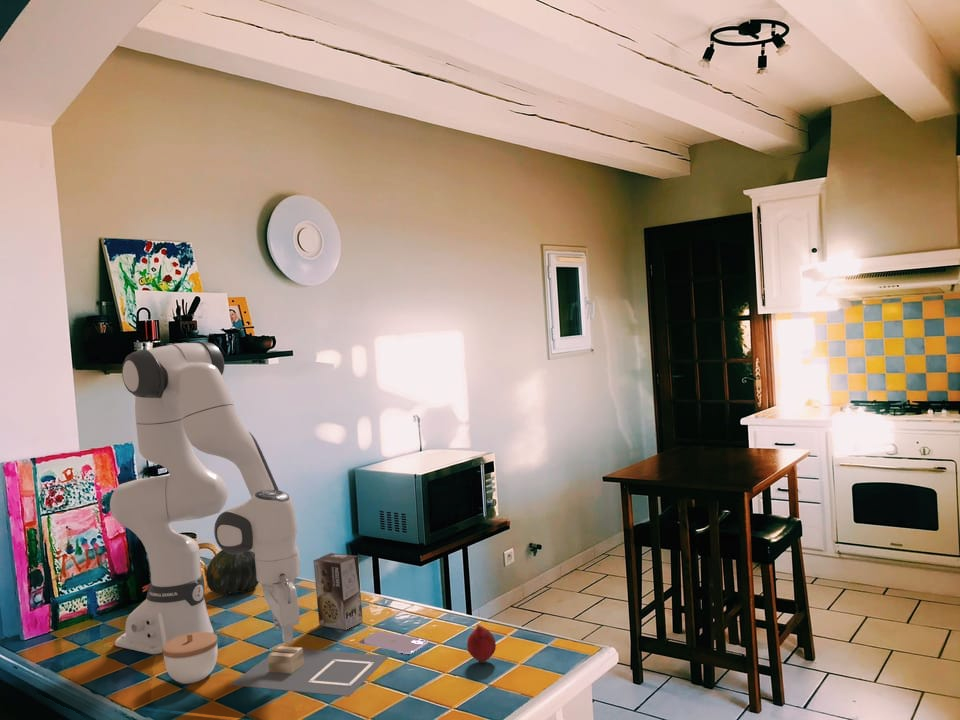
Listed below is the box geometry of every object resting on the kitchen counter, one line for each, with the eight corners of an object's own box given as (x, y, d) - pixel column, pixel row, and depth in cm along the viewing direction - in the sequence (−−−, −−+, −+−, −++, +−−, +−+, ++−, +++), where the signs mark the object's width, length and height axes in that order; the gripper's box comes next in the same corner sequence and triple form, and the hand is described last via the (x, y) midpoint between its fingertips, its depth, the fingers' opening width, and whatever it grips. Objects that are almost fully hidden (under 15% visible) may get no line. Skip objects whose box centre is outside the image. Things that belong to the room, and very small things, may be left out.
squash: (192, 574, 212) (209, 538, 206) (239, 561, 224) (256, 527, 217) (213, 614, 206) (232, 579, 199) (261, 599, 217) (279, 565, 210)
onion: (500, 657, 156) (497, 619, 156) (491, 669, 150) (489, 630, 150) (474, 655, 158) (471, 617, 157) (464, 667, 152) (461, 628, 152)
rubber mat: (229, 686, 151) (229, 684, 151) (280, 649, 168) (280, 647, 168) (349, 698, 142) (349, 695, 142) (389, 657, 160) (389, 655, 160)
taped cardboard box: (269, 671, 156) (267, 654, 156) (281, 662, 160) (280, 645, 160) (292, 673, 154) (290, 655, 154) (303, 664, 158) (302, 646, 158)
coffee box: (364, 621, 181) (359, 555, 181) (345, 631, 176) (340, 563, 176) (336, 616, 186) (331, 551, 186) (317, 625, 181) (312, 559, 180)
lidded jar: (189, 694, 149) (185, 648, 149) (154, 685, 154) (150, 640, 154) (231, 671, 158) (227, 627, 158) (196, 663, 164) (193, 621, 163)
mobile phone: (376, 629, 174) (430, 638, 166) (377, 633, 174) (430, 643, 166) (355, 642, 168) (410, 652, 160) (355, 646, 168) (410, 657, 160)
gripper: (304, 578, 148) (309, 647, 148) (284, 555, 167) (288, 617, 167) (271, 584, 145) (277, 655, 146) (254, 560, 164) (259, 623, 164)
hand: (283, 634), depth 156 cm, fingers open, 8 cm apart
